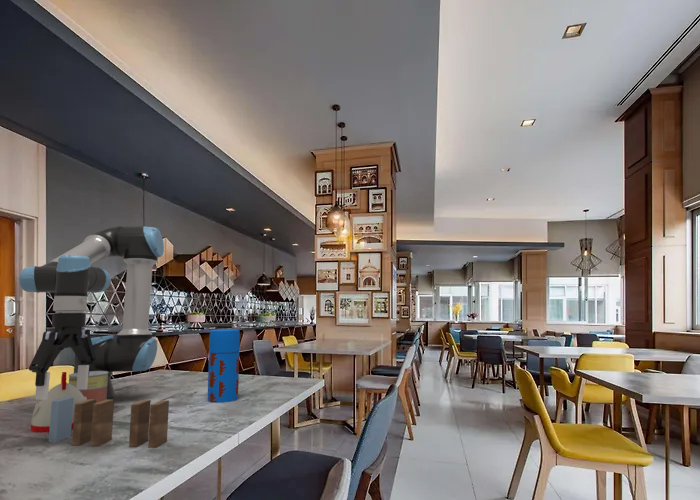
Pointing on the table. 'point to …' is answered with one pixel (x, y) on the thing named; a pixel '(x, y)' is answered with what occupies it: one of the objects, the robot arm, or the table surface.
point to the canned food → (93, 385)
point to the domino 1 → (61, 419)
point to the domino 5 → (158, 423)
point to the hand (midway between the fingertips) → (62, 394)
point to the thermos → (223, 365)
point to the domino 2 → (82, 422)
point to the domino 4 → (139, 423)
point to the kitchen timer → (44, 406)
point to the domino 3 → (102, 422)
